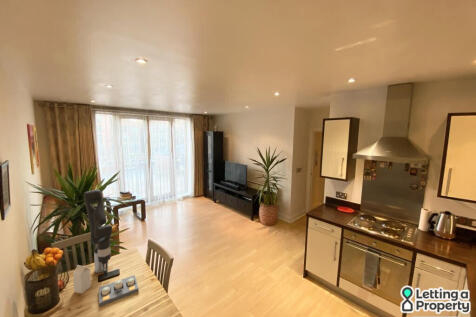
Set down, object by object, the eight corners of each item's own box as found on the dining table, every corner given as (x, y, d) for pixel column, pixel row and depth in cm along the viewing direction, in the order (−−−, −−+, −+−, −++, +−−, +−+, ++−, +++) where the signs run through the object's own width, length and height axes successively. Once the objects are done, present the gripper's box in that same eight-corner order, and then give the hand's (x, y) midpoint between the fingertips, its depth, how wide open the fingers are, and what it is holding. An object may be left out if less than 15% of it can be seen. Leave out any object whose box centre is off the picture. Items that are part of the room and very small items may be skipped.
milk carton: (81, 293, 143) (80, 269, 141) (74, 292, 145) (72, 268, 142) (91, 286, 150) (89, 263, 148) (83, 285, 151) (82, 262, 149)
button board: (99, 290, 146) (98, 286, 146) (134, 278, 160) (134, 274, 160) (99, 307, 133) (99, 302, 132) (138, 291, 147) (138, 287, 146)
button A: (101, 293, 142) (101, 288, 142) (109, 290, 145) (109, 285, 145) (101, 298, 138) (101, 292, 138) (110, 295, 141) (109, 289, 141)
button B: (114, 286, 147) (114, 281, 146) (122, 283, 149) (121, 278, 149) (115, 290, 143) (114, 285, 142) (122, 287, 146) (122, 282, 145)
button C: (126, 284, 152) (126, 279, 151) (133, 282, 154) (133, 277, 154) (127, 288, 148) (127, 283, 147) (134, 285, 150) (134, 280, 150)
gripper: (97, 250, 141) (98, 272, 143) (97, 260, 131) (99, 283, 133) (110, 247, 146) (111, 268, 148) (111, 256, 135) (112, 279, 137)
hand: (105, 275), depth 140 cm, fingers closed
